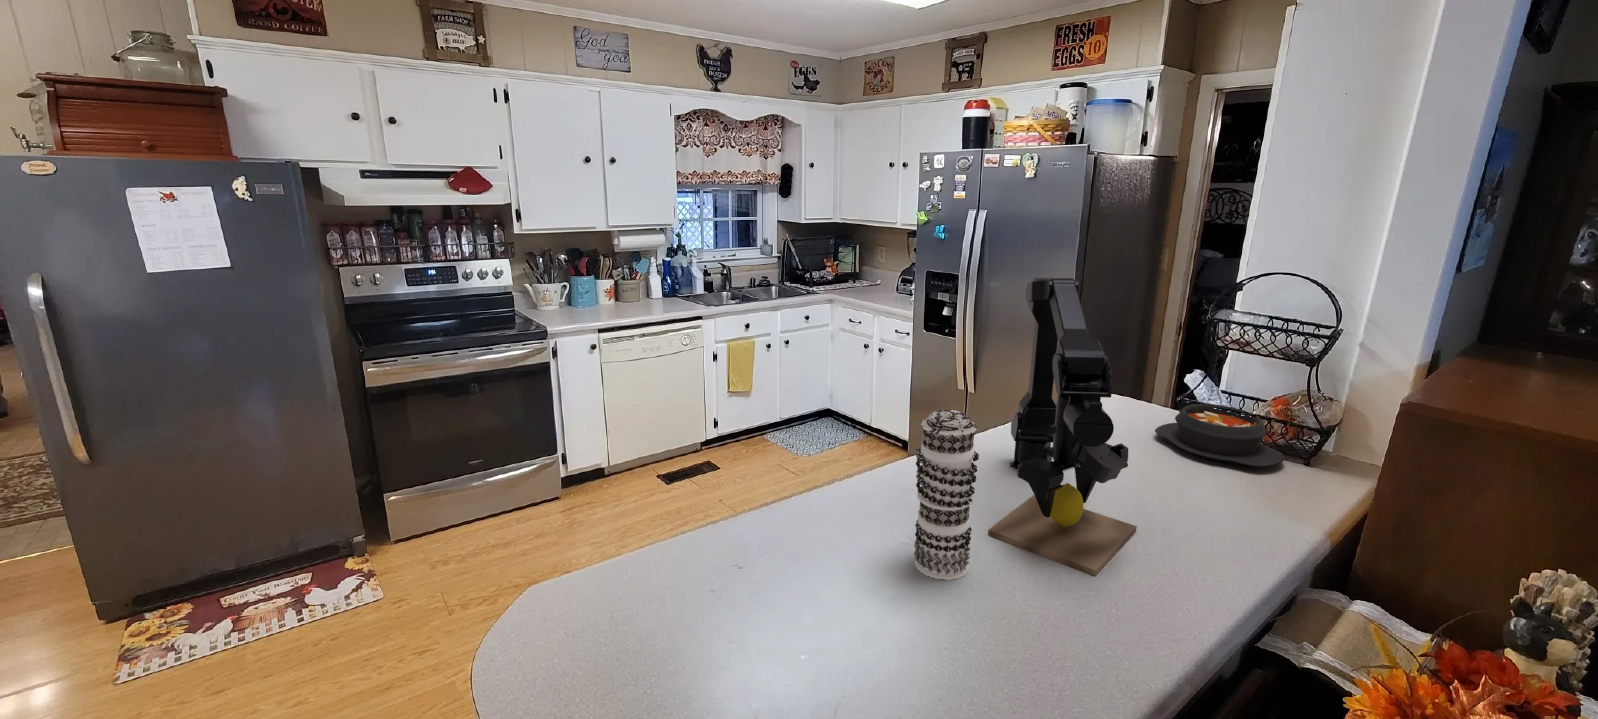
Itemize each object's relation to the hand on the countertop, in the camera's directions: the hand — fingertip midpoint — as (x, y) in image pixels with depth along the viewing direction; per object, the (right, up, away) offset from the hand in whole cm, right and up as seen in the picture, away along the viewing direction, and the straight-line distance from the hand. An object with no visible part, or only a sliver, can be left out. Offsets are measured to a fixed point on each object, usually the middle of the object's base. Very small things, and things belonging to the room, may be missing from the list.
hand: (1064, 509), depth 116 cm
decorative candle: (-22, -7, -7) cm, 25 cm away
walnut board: (0, -4, +1) cm, 4 cm away
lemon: (0, -3, +1) cm, 4 cm away
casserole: (+46, +5, +34) cm, 57 cm away
